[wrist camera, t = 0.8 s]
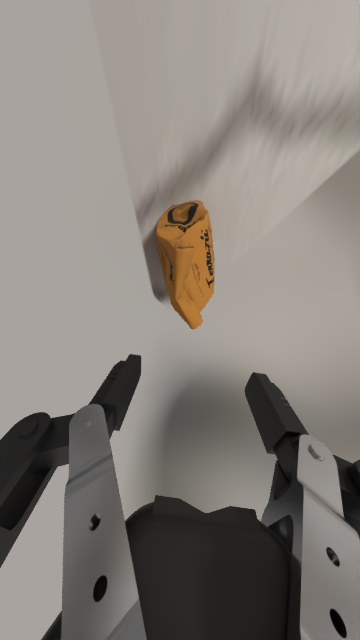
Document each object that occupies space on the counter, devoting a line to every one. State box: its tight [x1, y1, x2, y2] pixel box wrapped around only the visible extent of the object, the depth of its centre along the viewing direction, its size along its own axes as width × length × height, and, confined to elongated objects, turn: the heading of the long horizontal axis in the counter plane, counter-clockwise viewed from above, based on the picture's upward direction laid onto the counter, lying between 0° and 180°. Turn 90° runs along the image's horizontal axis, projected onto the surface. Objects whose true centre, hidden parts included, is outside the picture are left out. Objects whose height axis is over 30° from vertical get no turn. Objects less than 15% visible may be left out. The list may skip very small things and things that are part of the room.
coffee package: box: [156, 201, 214, 329], centre depth 23 cm, size 10×12×22 cm
